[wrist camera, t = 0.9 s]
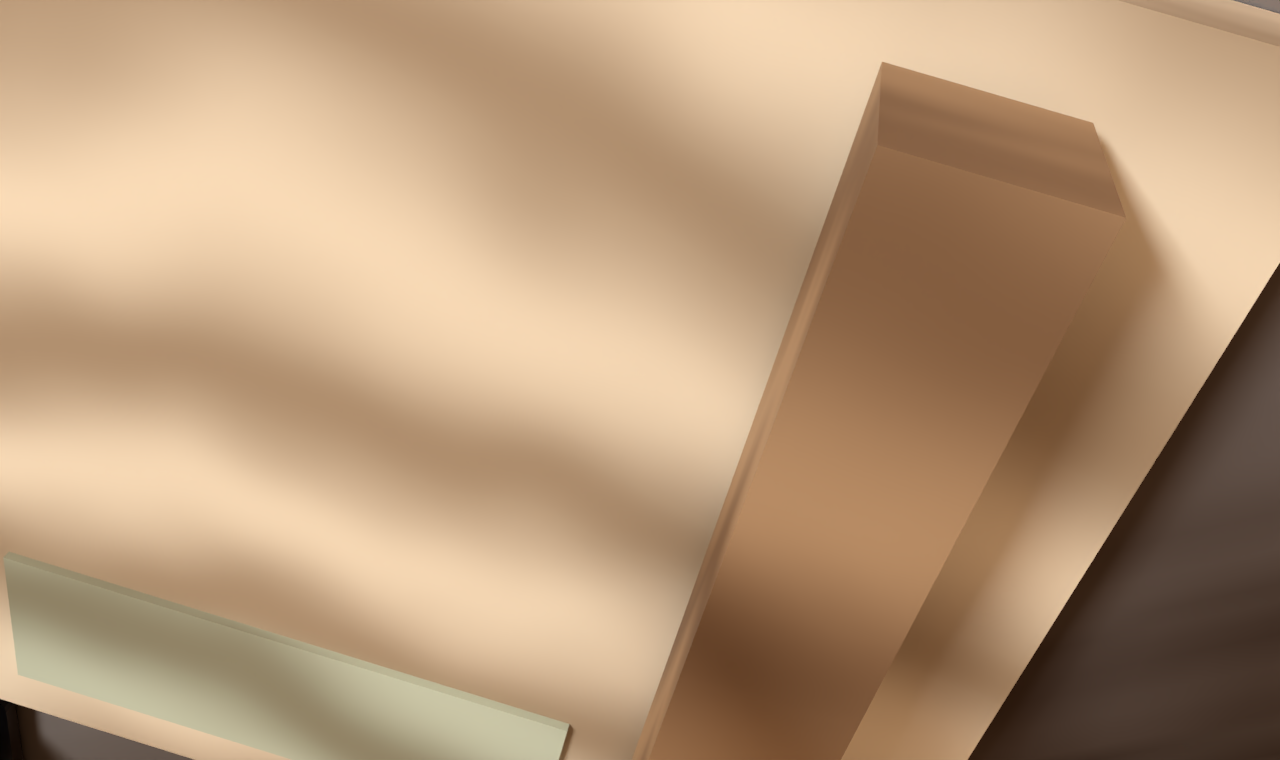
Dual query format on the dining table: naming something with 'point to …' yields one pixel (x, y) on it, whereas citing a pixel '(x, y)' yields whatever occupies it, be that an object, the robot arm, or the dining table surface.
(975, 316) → the stool leg
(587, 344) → the stool board
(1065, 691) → the dining table surface
